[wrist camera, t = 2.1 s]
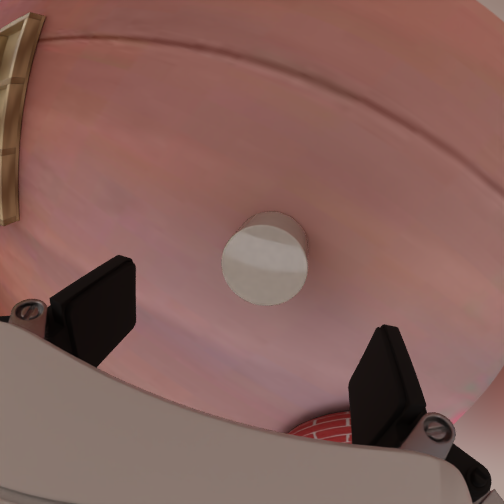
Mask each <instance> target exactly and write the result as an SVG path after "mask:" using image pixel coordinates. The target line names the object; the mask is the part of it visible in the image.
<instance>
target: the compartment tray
mask: <svg viewBox="0 0 504 504" xmlns="http://www.w3.org/2000/svg"><path fill="white" fill-rule="evenodd" d="M45 17H46V16H43V15H39V14H35V13H31V12H30V13H28V14H26V15H24V16H22V17H20V18H18V19H17V20H15V21H13V22H12V23H10V24H8V25H6V26H5V27H3V28H2V29H0V225H2V226H6V225H8V224H11V223H13V222H16V221H19V205H18V160H19V142H20V131H21V122H22V113H23V106H24V100H25V94H26V88H27V83H28V78H29V73H30V69H31V65H32V60H33V56H34V53H35V49H36V45H37V42H38V38H39V35H40V32H41V29H42V26H43V23H44V20H45Z"/></svg>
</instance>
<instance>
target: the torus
mask: <svg viewBox="0 0 504 504" xmlns="http://www.w3.org/2000/svg"><path fill="white" fill-rule="evenodd" d="M287 434H291V435H296V436H302V437H307V438H313V439H320V440H327V441H333V442H341V443H349V444H352V433H351V416H350V411H346V412H339V413H333V414H328V415H325V416H321V417H318V418H315V419H312V420H309V421H307V422H305V423H303V424H301V425H299V426H297V427H296V428H294V429H293V430H291V431H290V432H289V433H287Z"/></svg>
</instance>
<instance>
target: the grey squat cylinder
mask: <svg viewBox="0 0 504 504" xmlns="http://www.w3.org/2000/svg"><path fill="white" fill-rule="evenodd" d="M221 266H222V272H223V275H224V278H225V280H226V282H227V284H228V286H229V287H230V288H231V289H232V291H233V292H234V293H235V294H236V295H238V296H239V297H240V298H242V299H244V300H245V301H247V302H250V303H253V304H256V305H261V306H273V305H278V304H281V303H284V302H286V301H288V300H290V299H291V298H293V297H294V296H295V295H296V294H297V293H298V292H299V291H300V290H301V288H302V287H303V285H304V283H305V281H306V278H307V274H308V240H307V237H306V234H305V232H304V230H303V229H302V227H301V226H300V225H299V224H298V223H297V222H296V221H295V220H294V219H293V218H291V217H289V216H288V215H285V214H283V213H279V212H271V211H269V212H262V213H258V214H256V215H254V216H252V217H250V218H249V219H247V220H246V221H245V222H244V223H243V224H242V226H241V227H240V228H239V229H238V230H237V231H236V233H235V234H234V235H233V236H232V237H231V238H230V240H229V241H228V242H227V244H226V246H225V248H224V250H223V254H222V260H221Z"/></svg>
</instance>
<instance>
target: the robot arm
mask: <svg viewBox="0 0 504 504" xmlns="http://www.w3.org/2000/svg"><path fill="white" fill-rule="evenodd" d="M50 304H51V305H50V306H49V307H47V305H46V304H45V303H44V302H43V301H41V300H38V299H27V300H23V301H21V302H19V303H17V304H16V305H15V306H14V307H13V309H12V311H11V315H10V316H0V504H504V501H503V500H502V498H501V497H500V496H499V494H498V493H497V492H496V490H495V489H494V490H492V491H490V487H491V476H490V473H489V472H488V470H487V469H486V468H485V467H484V466H483V465H482V464H480V463H479V462H478V461H476V460H475V459H473V458H472V457H471V456H469V455H468V454H467V453H465V452H464V451H463V450H461V449H460V448H459V447H457V446H456V445H455V444H453V442H454V440H455V436H456V433H455V428H454V426H453V424H452V423H451V421H450V420H449V419H448V418H447V417H445V416H444V415H442V414H439V413H435V412H431V413H427V411H426V408H425V407H426V402H425V399H424V396H423V393H422V390H421V387H420V384H419V381H418V379H417V376H416V373H415V370H414V367H413V365H412V362H411V359H410V357H409V354H408V351H407V349H406V346H405V344H404V341H403V339H402V336H401V334H400V331H399V329H398V327H394V326H389V325H385V324H384V325H382V326H381V328H380V327H377V328H376V330H375V332H374V334H373V336H372V338H371V340H370V342H369V344H368V346H367V348H366V350H365V352H364V354H363V356H362V358H361V360H360V362H359V364H358V366H357V368H356V370H355V372H354V373H353V375H352V377H351V379H350V382H349V386H348V389H349V402H350V416H351V433H352V444H349V443H341V442H333V441H327V440H320V439H313V438H307V437H302V436H296V435H291V434H286V433H281V432H276V431H272V430H267V429H263V428H259V427H255V426H251V425H247V424H243V423H239V422H236V421H232V420H228V419H225V418H222V417H218V416H215V415H212V414H209V413H205V412H202V411H199V410H196V409H193V408H190V407H187V406H185V405H182V404H179V403H176V402H174V401H171V400H168V399H166V398H163V397H161V396H158V395H156V394H153V393H151V392H148V391H146V390H143V389H141V388H139V387H136V386H134V385H132V384H129V383H127V382H125V381H123V380H121V379H118V378H116V377H114V376H112V375H110V374H108V373H106V372H104V371H102V370H100V369H98V368H97V366H98V365H99V364H100V363H101V362H102V361H103V360H104V359H105V358H106V357H107V356H108V354H109V353H110V352H111V351H112V350H113V349H114V348H115V347H116V346H117V345H118V344H119V343H120V342H121V341H122V339H123V338H124V337H125V336H126V335H127V334H128V333H129V332H130V331H131V330H132V329H133V328H134V326H135V323H136V266H135V264H134V263H133V261H132V259H130V258H127V257H124V256H121V255H117V256H115V257H114V258H112V259H110V260H109V261H107V262H105V263H104V264H102V265H101V266H99V267H97V268H96V269H94V270H93V271H91V272H89V273H88V274H86V275H85V276H83V277H81V278H80V279H78V280H77V281H75V282H74V283H72V284H71V285H69V286H67V287H66V288H64V289H63V290H61V291H60V292H58V293H57V294H55V295H54V296H52V297H51V298H50Z"/></svg>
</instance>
